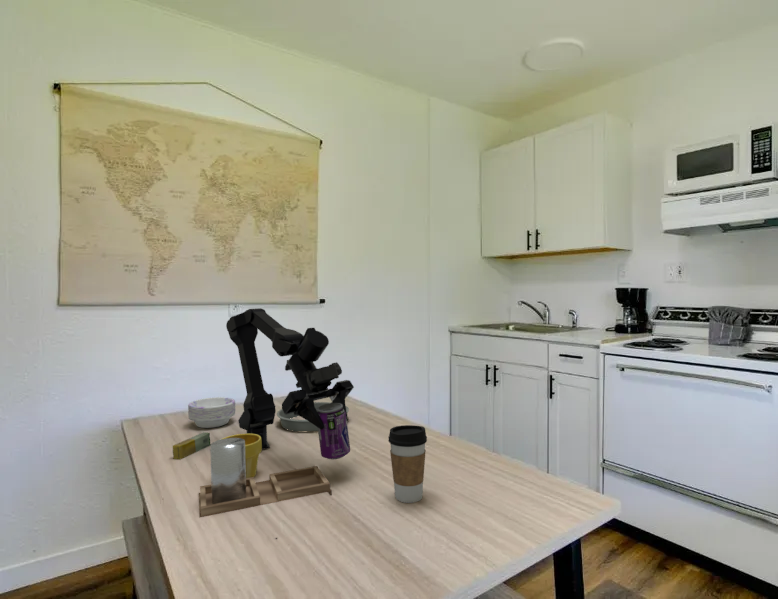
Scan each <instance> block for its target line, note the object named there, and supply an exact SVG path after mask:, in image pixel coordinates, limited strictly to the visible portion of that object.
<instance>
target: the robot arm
mask: <svg viewBox="0 0 778 599" xmlns="http://www.w3.org/2000/svg"><path fill="white" fill-rule="evenodd" d="M225 327H226V330H227V333H228V335H229V339H230V340H231V341H232V343H234V344H235V346H236V348H237V350H238V355H239V360H240V365H241V369H242V370H241V371H242V375H243V380H244V385H245V390H246V396H245V399H244V402H243V404H242V407H243V412H242V414H241V415H240V417H239V418H238V420H237V422H238V426H239V428H240V429H241V430H244V431H246V434H257V435H259V436H261V440H262V450H265V449H270V447H271V445H270V443H269V442H268V433H267V432H268V431H267V430H268V427H267V426H269V425H273V424H274V422H275V416H276V413H277V412H276V410H277V409H276V405H275V400H274V396H273V394H272V393H268V392H267V391H266V389H265V387H264V386H265V385H264V383H263V382H264V381H263V378H262V373H261V367H260V363H259V358H258V353H257V348H256V344H255V342H256V339H257V336H258V334H259V332H258V331H260V332H261V333H262V334H264V336H266V337H267V338H268V339H269V340H270V341H271V347H272V349H273V350H274V352H276V354H277V355H278V357H288V356H290V357H289V359H287V360H286V364H285V366H284V370H285V371H286V372H287V371H291V372H292V375H293V376H294V378H295V379H296V381H297V382H296V383H295V386H296V388H297V390H293V391H289V392H288V394H287V395H286V397H285V398H284V400H283V401H282V403H281V409H283V411H284V413H285V414H290V413H294V415H299V417H301V418H302V419H303V420H308V421H309V422H311V423H312V424H314V425H315V426H316V427H318V428H319V429H321V430H323V429H324V424H323V422H322V420H321V418H320V416H319V414H318V412H317V410H316V408H315V406H314V402H315V401H319V400H323V399H327V398H329V399H330V400H331V403H341V404H342V405H343V409H344V410H345V412H346V398H347V397H348V395H349V394H350V393H351V392H352V390H354V388H355V387H354V385H353V383H352V381H351V380H349V379H345V380H340V381H336V383H335V384H334V385H333V386H332V388H329V387H330V386H331V385H332V381H333V380H335V379H339V376H340V375H342V373H343V370H342V366H340V364H339V363H338V362H337V361H336V362H332V363H331V364H329V365H328V366H327V365H326V366H322V367H319V368H317V366H316V365H315V363H314V362H317V361H318V360H319V359H320V358H321V356H322V355H323V353H324V352H325V350H326V348H327V347H328V345H329V344H330V340H329V338H328V336H327V335H325V334H324V333H322V332H321V331H318V330H316V327H307V329H306V330H305V332H304V334H302V333H301V332H299V331H298V330H294V329H290V328H286V327H284V325H282V324H281V323H279V322H278V321H277V320H276V319H274V318H273V317H271V315H269V314H268V313H267V311H266V310H265V309H264V308H248V309H246V310H245V311H243V312H241V313H239V314H236V315H232V316H230V317H229V319H228V320H227V321H226V326H225ZM299 388H300V389H299ZM346 419H347V422H348V420H349V418H348V413H347V412H346Z"/></svg>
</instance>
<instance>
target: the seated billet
mask: <svg viewBox="0 0 778 599" xmlns="http://www.w3.org/2000/svg"><path fill="white" fill-rule="evenodd" d="M210 444H211V445H210V446H209V448H210V479H211V480H210V481H211V483H210V485H211V487H212V503H213V504H217V503H222V502H227V501H233V500H238V499H243V498H246V460H245V440H244V439H241V438H226V439H222V438H221V439H217V440H215V441H213V442H212V443H210Z"/></svg>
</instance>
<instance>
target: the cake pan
mask: <svg viewBox="0 0 778 599" xmlns="http://www.w3.org/2000/svg"><path fill="white" fill-rule="evenodd" d="M329 403H331V402H330V401H329V402H325V401H317V402H315V401H314V406H315V408H316V410H317V408H318V407H320V406H322V405H325V404H329ZM345 406H346V405H345ZM349 410H350V409H349V407H348V406H346V412H347V414H348V413H349ZM317 412H318V411H317ZM297 416H299V415H294V413H290V414H285V413H284V411H283V409H282V408H281V409H279V410H278V411H277V412H276V417H278V418H279V421H280V423H281V427H282V428H285V429H284V430H287V429H288V431H290V430H293V431H292V432H295V431H317V432H318V427H316V426H315V425H314V424H312V423H311V422H309V421H308V420H306V419H295V418H297ZM293 417H295V418H293ZM299 417H300V416H299ZM290 418H291V419H290Z"/></svg>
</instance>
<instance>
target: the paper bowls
mask: <svg viewBox="0 0 778 599" xmlns="http://www.w3.org/2000/svg"><path fill="white" fill-rule="evenodd" d="M187 406H188V407H187V410H188V412H187V413H188V414H187V416H188V419H189V420H191V421H193V422H194V424H195V425H196V426H197V427H199V428H202V429H212V428H214V429H215V428H220V427H222V426H225V425H226V424H228V423H229V421H230V419H231V418H232V417H234V416H235V415H236V400H235V399H233V398H231V397H224V396H223V397H221V396H220V397H219V396H218V397H207V398H199V399H196V400H193V401H191V402H189V403H188V405H187Z"/></svg>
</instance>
